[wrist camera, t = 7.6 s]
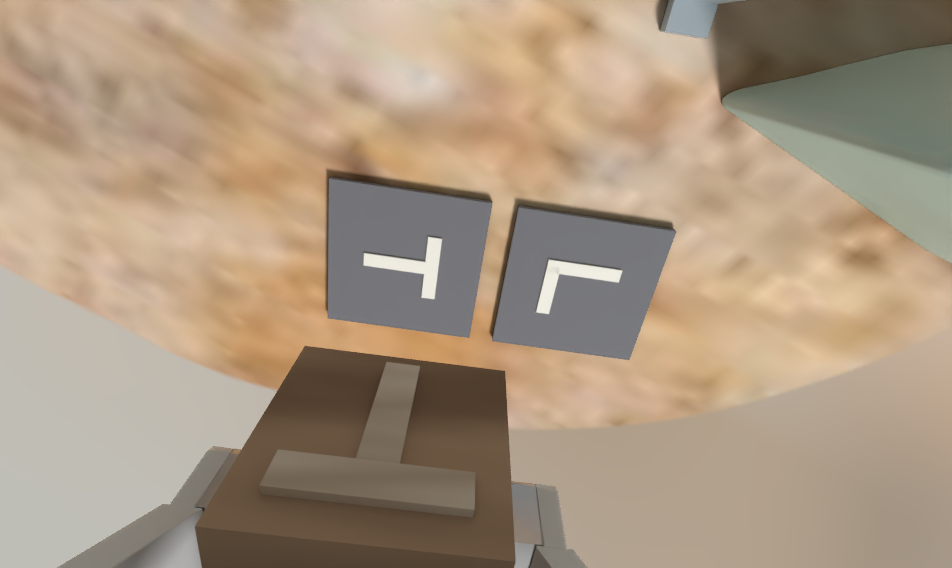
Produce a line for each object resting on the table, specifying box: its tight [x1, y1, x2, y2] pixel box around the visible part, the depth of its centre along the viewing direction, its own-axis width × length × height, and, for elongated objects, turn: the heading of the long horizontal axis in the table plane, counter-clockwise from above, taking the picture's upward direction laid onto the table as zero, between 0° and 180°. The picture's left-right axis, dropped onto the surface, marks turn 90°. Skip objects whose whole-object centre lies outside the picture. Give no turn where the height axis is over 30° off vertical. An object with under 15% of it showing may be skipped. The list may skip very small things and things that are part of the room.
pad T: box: [328, 177, 492, 338], centre depth 29 cm, size 9×9×1 cm
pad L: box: [492, 205, 676, 360], centre depth 29 cm, size 9×9×1 cm
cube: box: [195, 346, 516, 568], centre depth 11 cm, size 5×5×5 cm
